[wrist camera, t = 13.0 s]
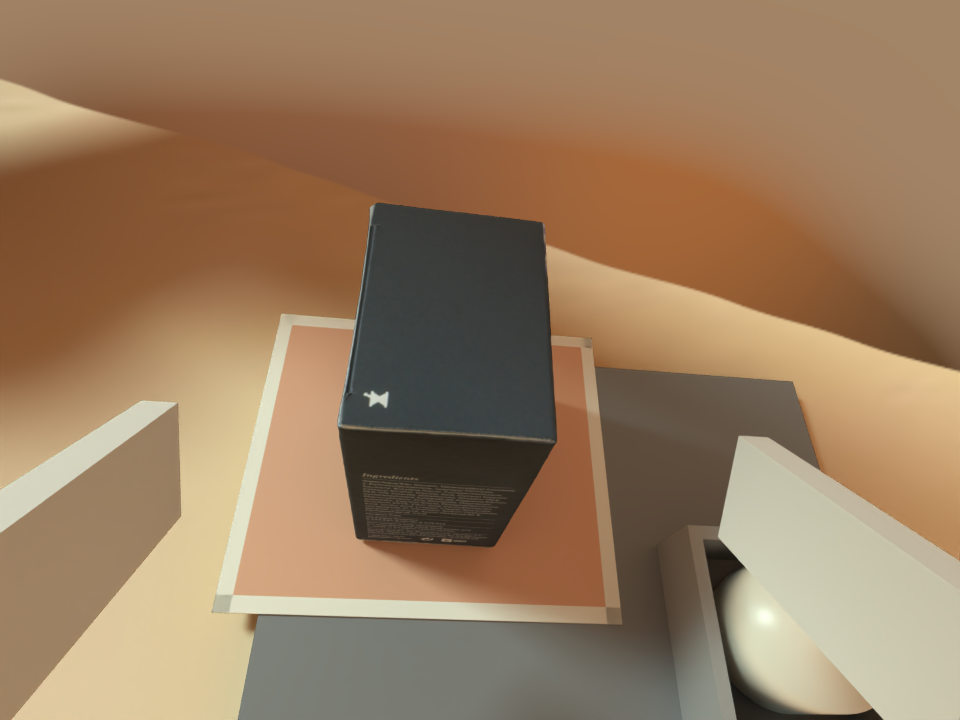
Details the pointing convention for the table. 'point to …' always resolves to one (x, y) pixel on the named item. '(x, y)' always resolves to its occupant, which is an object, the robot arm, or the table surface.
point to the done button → (777, 654)
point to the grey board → (502, 557)
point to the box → (447, 376)
